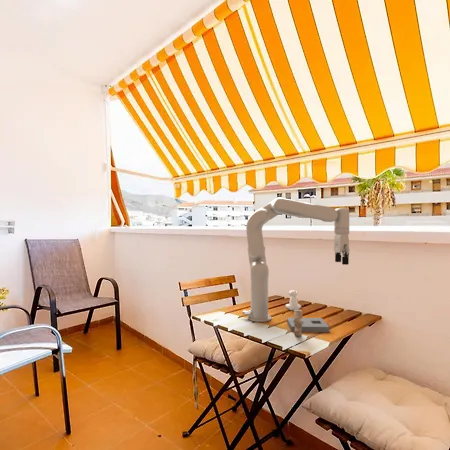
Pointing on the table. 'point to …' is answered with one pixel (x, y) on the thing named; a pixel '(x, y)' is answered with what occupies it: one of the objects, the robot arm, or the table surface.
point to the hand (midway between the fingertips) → (341, 263)
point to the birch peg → (298, 323)
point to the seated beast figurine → (293, 301)
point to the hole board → (310, 325)
